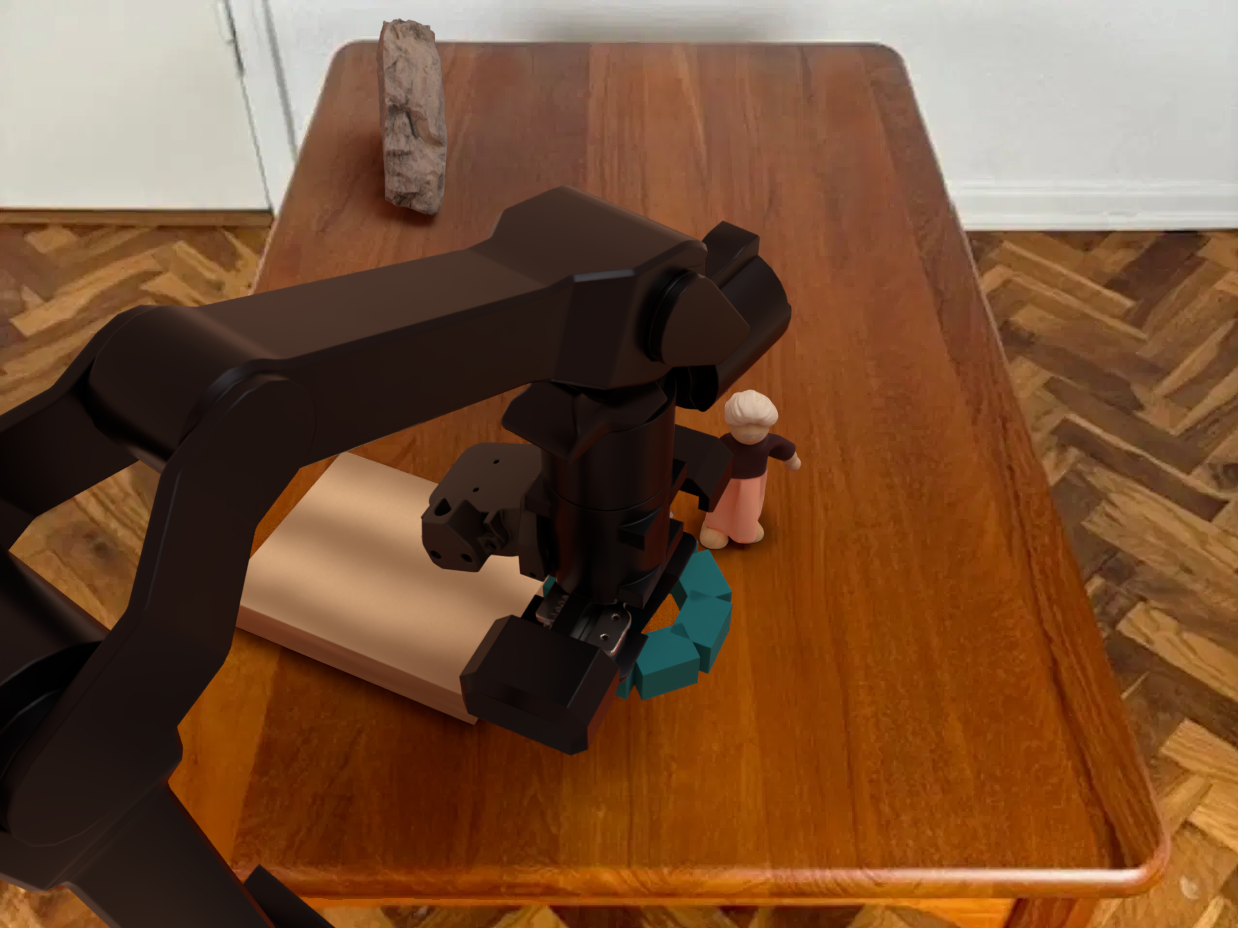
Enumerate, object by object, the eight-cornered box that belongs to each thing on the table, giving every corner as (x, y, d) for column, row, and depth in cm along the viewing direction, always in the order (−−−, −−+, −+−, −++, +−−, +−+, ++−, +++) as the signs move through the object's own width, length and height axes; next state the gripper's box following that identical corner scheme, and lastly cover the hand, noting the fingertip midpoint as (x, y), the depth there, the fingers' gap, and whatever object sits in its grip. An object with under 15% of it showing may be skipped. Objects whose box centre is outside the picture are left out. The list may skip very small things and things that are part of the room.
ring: (685, 723, 61) (687, 698, 60) (516, 657, 64) (513, 631, 62) (750, 586, 68) (754, 559, 66) (593, 531, 70) (593, 504, 69)
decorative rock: (382, 136, 117) (358, -13, 106) (450, 131, 118) (433, -18, 107) (383, 233, 106) (356, 77, 95) (458, 227, 107) (440, 72, 96)
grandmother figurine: (698, 566, 80) (709, 432, 71) (675, 526, 82) (683, 391, 73) (800, 535, 82) (824, 400, 73) (775, 496, 84) (795, 361, 75)
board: (474, 725, 72) (470, 698, 69) (228, 624, 77) (217, 595, 75) (576, 560, 80) (575, 531, 78) (349, 479, 86) (343, 449, 83)
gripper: (538, 293, 60) (550, 500, 71) (329, 554, 48) (383, 753, 60) (747, 353, 57) (724, 560, 68) (578, 648, 45) (585, 840, 56)
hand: (607, 666), depth 63 cm, fingers closed on ring, 2 cm apart
